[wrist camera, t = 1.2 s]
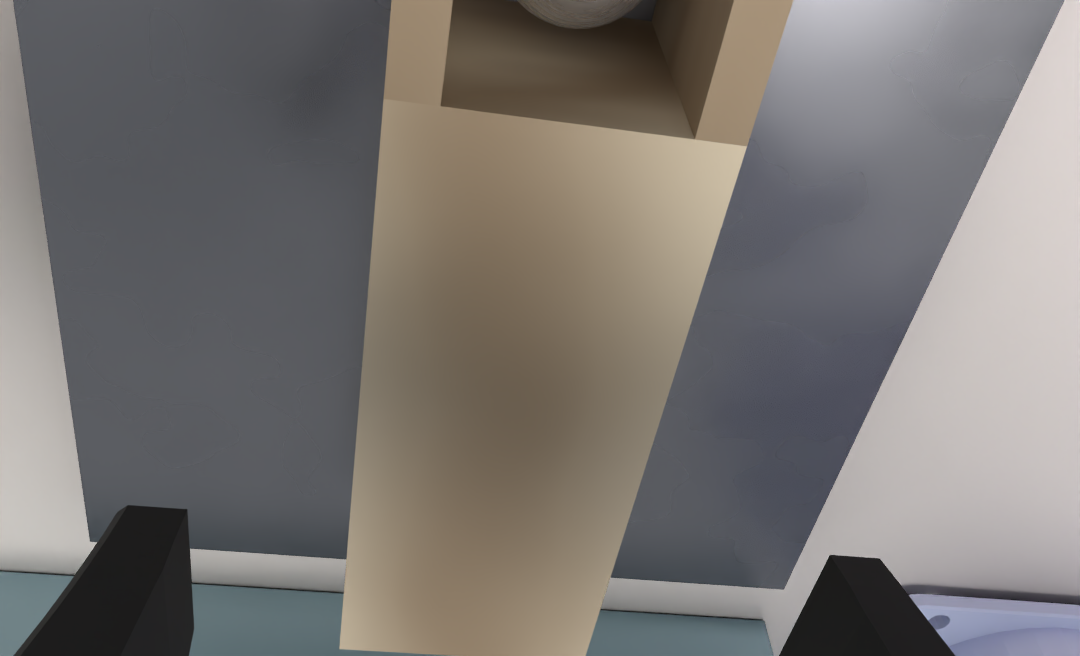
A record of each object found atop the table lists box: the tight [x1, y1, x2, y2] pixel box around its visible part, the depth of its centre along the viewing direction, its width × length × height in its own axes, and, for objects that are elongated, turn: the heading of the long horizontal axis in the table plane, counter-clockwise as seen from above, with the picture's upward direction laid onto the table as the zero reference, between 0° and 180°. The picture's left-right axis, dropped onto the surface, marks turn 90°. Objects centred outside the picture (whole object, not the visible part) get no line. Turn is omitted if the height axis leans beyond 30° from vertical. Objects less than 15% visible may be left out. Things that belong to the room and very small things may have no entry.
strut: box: [339, 0, 793, 656], centre depth 14 cm, size 4×13×4 cm, turn 170°
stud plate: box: [13, 0, 1064, 589], centre depth 15 cm, size 14×17×3 cm
